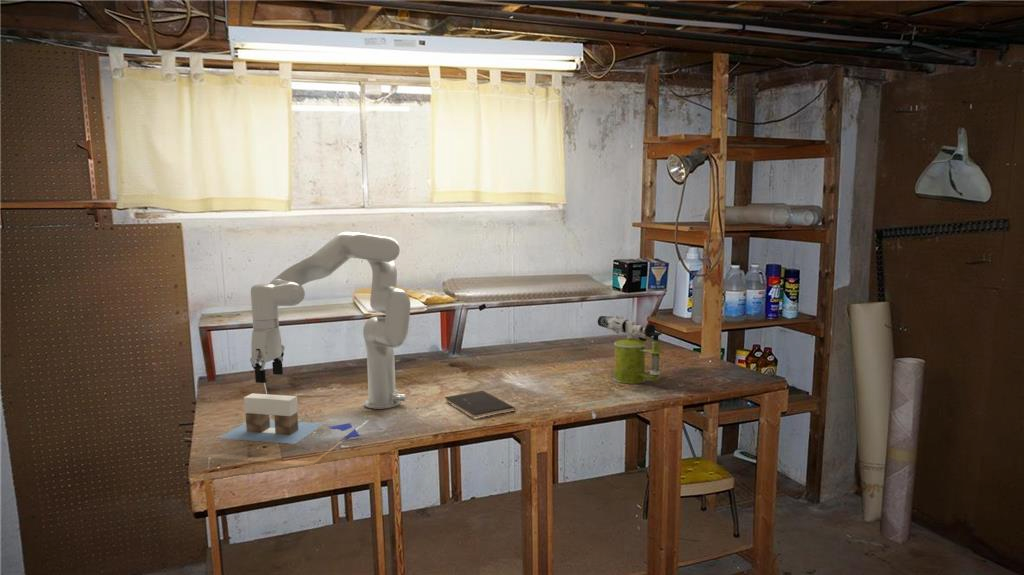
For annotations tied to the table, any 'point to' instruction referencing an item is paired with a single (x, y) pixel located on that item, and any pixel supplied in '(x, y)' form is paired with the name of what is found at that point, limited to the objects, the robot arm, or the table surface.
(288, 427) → the post
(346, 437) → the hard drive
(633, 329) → the blowtorch
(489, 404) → the hardcover book
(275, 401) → the beam
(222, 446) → the table surface
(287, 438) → the board
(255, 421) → the post
